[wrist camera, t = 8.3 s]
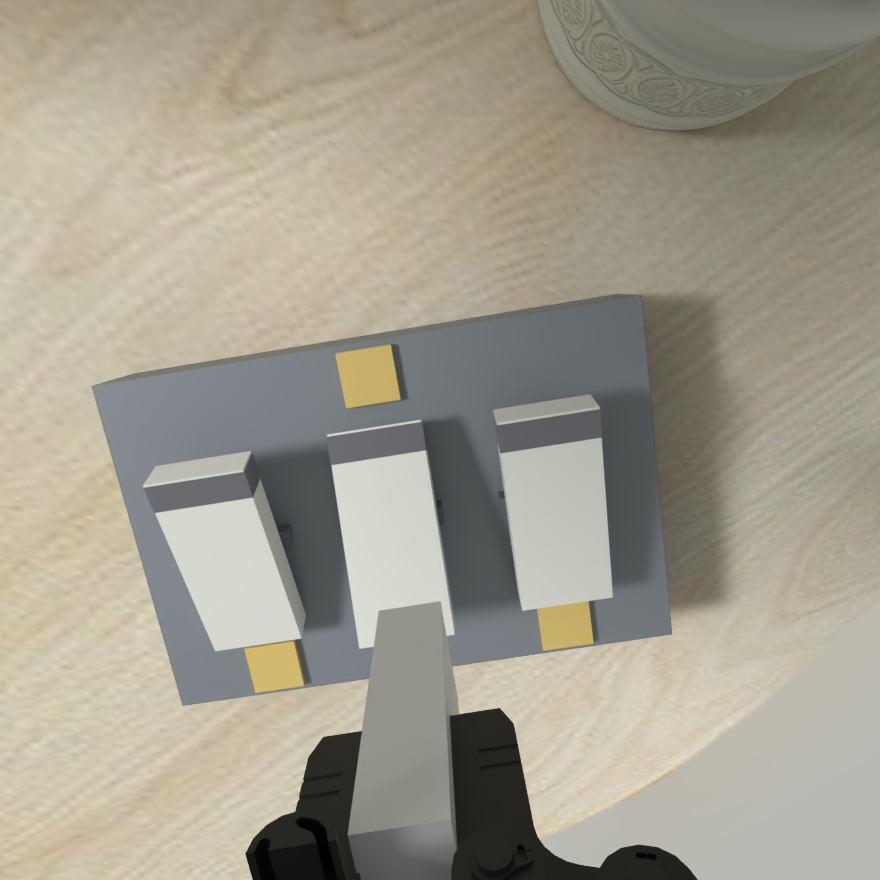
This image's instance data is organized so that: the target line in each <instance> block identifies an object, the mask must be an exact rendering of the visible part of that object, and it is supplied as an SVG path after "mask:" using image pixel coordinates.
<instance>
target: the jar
mask: <svg viewBox="0 0 880 880" xmlns="http://www.w3.org/2000/svg"><path fill="white" fill-rule="evenodd" d="M537 1H538V6H539V12H540V18H541V22H542V26H543V29H544V32H545V35H546V38H547V41H548V44H549V46H550V48H551V51H552V53H553V55H554V57H555V59H556V61H557V63H558V64H559V66H560V68H561V69H562V71H563V72H564V74H565V75H566V76H567V78H568V79H569V81H570V82H571V83H572V84H573V85H574V87H575V88H576V89H577V90H578V91H579V92H580V93H581V94H582V95H583V96H584V97H585V98H586V99H588V100H589V101H590V102H591V103H592V104H594V105H595V106H596V107H598V108H599V109H601V110H602V111H604V112H606V113H607V114H609V115H611V116H613V117H615V118H617V119H619V120H621V121H624V122H626V123H629V124H632V125H636V126H639V127H644V128H649V129H657V130H691V129H699V128H705V127H710V126H714V125H718V124H721V123H724V122H727V121H730V120H732V119H735V118H737V117H740V116H742V115H744V114H746V113H748V112H750V111H752V110H753V109H755V108H757V107H759V106H761V105H763V104H764V103H766V102H768V101H769V100H771V99H773V98H774V97H775V96H777V95H778V94H779V93H781V92H782V91H784V90H785V89H786V88H787V87H788V86H789V85H791V84H792V83H793V82H794V81H796V80H798V79H800V78H801V77H804V76H807V75H810V74H813V73H816V72H818V71H821V70H823V69H825V68H828V67H830V66H832V65H834V64H836V63H838V62H840V61H842V60H844V59H846V58H847V57H849V56H850V55H852V54H854V53H855V52H857V51H858V50H860V49H862V48H863V47H864V46H866V45H867V44H868V43H870V42H871V41H873V40H874V39H875V38H878V37H880V0H537Z"/></svg>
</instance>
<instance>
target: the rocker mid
mask: <svg viewBox="0 0 880 880" xmlns="http://www.w3.org/2000/svg"><path fill="white" fill-rule="evenodd" d="M327 443H328V450H329V456H330V463H331V466H332V472H333V479H334V486H335V492H336V499H337V505H338V512H339V518H340V525H341V532H342V538H343V545H344V551H345V558H346V565H347V571H348V578H349V584H350V591H351V598H352V604H353V611H354V617H355V624H356V631H357V637H358V644H359V649H361V648H368V647H374V641H375V634H376V627H377V619H378V612H379V611H381V610H387V609H393V608H400V607H406V606H412V605H419V604H425V603H432V602H438V601H441V607H442V612H443V618H444V624H445V629H446V635H447V636H449V635H455V621H454V615H453V609H452V602H451V596H450V589H449V583H448V577H447V570H446V564H445V557H444V551H443V545H442V538H441V532H440V526H439V519H438V513H437V506H436V500H435V494H434V487H433V481H432V474H431V468H430V462H429V455H428V446H427V439H426V433H425V427H424V423H423V421H422V420H415V421H409V422H403V423H396V424H390V425H384V426H378V427H371V428H365V429H359V430H353V431H346V432H340V433H334V434H328V435H327Z"/></svg>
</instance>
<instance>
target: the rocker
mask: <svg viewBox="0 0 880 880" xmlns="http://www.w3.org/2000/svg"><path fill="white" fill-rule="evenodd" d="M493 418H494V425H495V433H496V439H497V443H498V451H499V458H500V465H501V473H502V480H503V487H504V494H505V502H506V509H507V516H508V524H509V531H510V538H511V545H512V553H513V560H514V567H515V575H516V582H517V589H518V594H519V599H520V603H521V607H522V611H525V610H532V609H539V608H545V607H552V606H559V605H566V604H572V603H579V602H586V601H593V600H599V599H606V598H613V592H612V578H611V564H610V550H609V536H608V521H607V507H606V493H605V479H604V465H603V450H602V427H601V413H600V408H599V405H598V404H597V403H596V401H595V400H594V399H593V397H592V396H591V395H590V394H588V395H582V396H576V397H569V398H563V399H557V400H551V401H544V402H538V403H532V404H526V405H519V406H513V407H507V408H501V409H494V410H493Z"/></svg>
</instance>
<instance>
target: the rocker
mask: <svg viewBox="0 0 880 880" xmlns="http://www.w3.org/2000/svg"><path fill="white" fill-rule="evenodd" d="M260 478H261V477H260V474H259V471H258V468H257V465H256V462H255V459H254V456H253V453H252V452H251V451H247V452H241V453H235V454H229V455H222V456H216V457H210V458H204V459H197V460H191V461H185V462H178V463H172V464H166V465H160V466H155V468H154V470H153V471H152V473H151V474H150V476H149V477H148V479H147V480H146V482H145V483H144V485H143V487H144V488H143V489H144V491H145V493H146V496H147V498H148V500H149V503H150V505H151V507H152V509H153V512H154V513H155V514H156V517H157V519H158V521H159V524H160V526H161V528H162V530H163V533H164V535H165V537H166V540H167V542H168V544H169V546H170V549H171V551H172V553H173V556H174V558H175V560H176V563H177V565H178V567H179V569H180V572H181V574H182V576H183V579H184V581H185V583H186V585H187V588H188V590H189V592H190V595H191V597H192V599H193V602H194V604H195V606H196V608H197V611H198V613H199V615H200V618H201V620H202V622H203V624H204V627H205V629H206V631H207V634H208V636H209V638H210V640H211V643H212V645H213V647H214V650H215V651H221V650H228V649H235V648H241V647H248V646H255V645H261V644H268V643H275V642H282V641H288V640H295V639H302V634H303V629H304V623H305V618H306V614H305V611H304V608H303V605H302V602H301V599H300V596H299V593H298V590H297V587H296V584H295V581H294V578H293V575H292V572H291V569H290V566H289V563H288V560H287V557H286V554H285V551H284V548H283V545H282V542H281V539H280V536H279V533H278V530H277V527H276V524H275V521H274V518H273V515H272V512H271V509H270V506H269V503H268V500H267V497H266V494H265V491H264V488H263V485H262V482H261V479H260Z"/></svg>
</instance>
